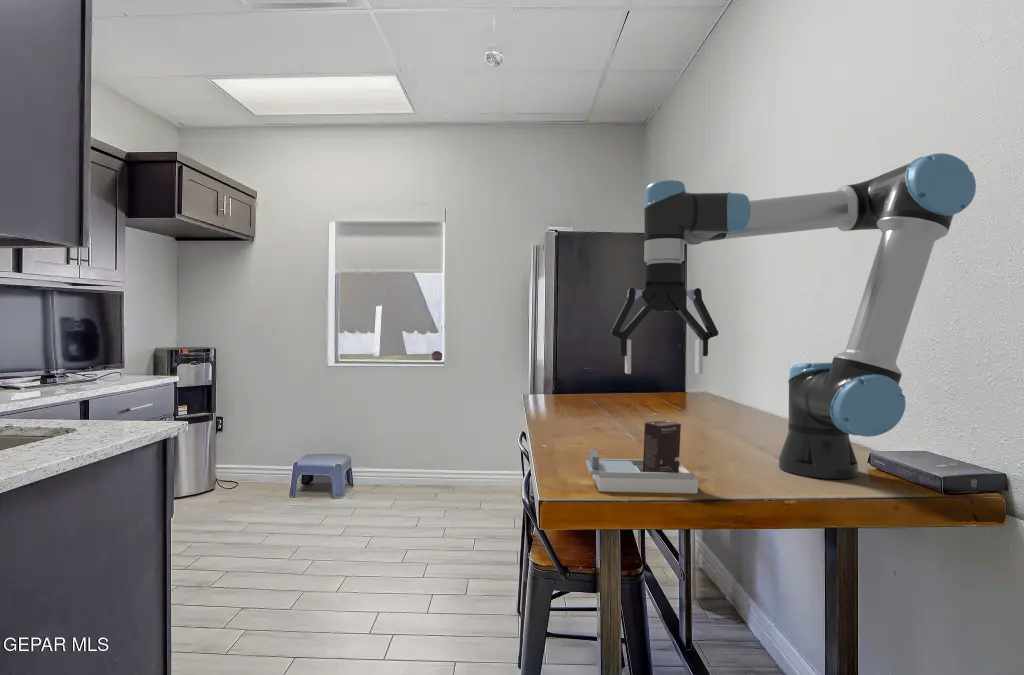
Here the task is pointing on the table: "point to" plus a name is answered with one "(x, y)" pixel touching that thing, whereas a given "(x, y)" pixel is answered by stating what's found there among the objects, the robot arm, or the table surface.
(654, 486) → the socket plate
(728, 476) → the table surface
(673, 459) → the box
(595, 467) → the panel
